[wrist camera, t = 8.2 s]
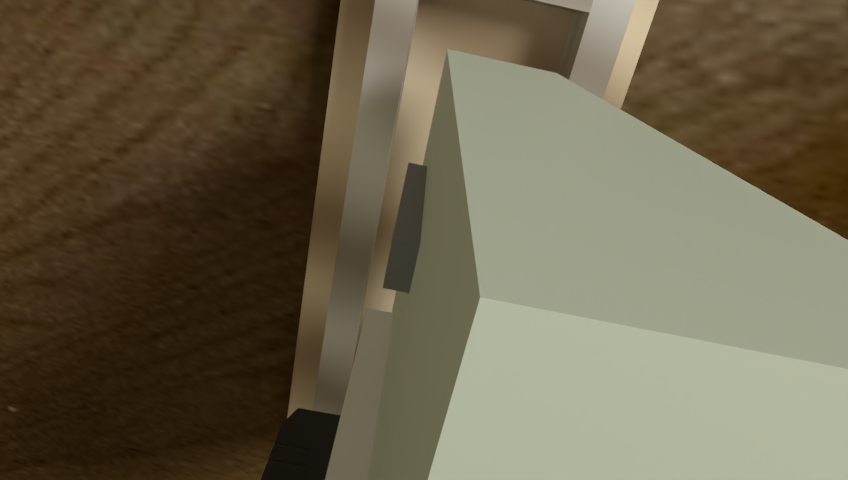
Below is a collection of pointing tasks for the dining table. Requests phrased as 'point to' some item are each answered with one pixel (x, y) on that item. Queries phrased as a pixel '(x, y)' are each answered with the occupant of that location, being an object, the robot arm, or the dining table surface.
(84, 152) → the dining table surface
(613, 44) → the door track
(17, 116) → the dining table surface
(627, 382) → the door panel
